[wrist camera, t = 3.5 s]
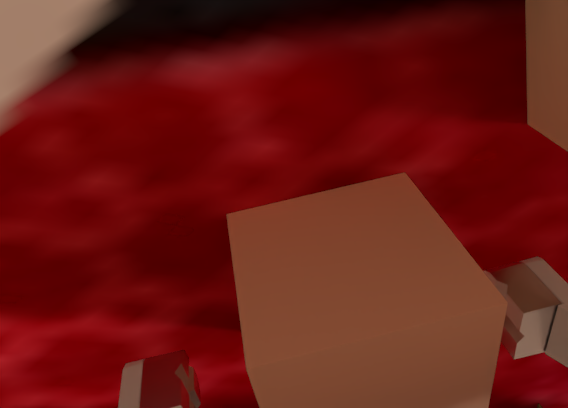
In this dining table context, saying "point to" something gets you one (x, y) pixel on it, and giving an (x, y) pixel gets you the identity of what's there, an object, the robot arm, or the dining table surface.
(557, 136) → the block oak
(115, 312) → the dining table surface
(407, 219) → the block terracotta
